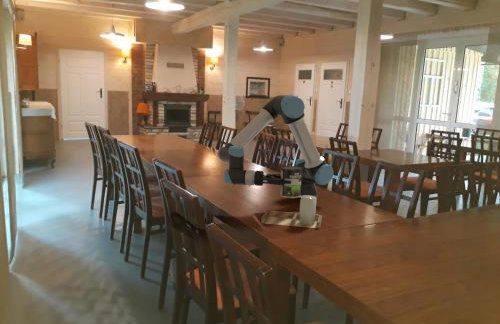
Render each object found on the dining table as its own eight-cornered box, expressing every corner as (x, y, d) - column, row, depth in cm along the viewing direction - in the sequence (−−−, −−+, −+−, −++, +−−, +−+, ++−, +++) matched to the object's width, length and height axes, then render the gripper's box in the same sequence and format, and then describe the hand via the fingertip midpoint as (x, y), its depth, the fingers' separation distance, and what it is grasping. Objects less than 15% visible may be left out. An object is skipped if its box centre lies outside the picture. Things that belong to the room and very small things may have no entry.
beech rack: (260, 225, 177) (261, 217, 176) (266, 217, 190) (266, 210, 189) (319, 230, 171) (320, 222, 170) (321, 222, 183) (322, 214, 183)
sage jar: (310, 220, 182) (312, 194, 180) (317, 225, 175) (319, 198, 173) (296, 221, 180) (298, 195, 178) (302, 226, 173) (304, 199, 171)
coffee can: (305, 196, 192) (306, 168, 190) (287, 199, 188) (288, 169, 186) (293, 192, 201) (294, 165, 199) (276, 194, 197) (276, 166, 195)
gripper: (259, 181, 209) (302, 183, 204) (249, 190, 187) (296, 192, 182) (260, 167, 208) (302, 168, 203) (249, 174, 186) (297, 176, 181)
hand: (299, 180), depth 192 cm, fingers closed on coffee can, 10 cm apart
